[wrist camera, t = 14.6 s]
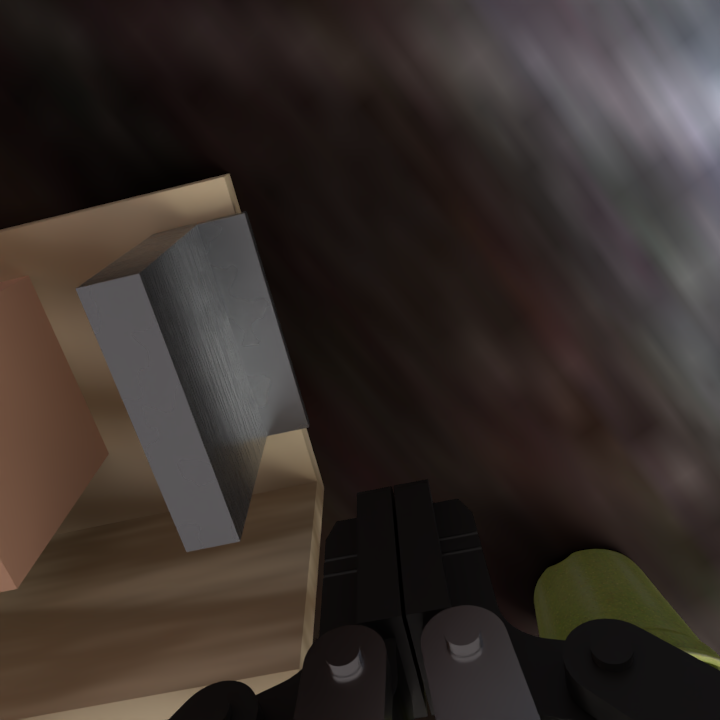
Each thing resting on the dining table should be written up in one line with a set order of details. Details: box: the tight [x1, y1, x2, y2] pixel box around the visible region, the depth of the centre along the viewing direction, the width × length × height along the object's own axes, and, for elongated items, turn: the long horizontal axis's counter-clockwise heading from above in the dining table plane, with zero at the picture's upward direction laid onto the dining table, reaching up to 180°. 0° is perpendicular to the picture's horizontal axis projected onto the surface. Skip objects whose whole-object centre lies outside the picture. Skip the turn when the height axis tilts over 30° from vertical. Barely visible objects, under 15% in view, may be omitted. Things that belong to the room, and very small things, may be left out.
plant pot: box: [534, 549, 720, 670], centre depth 32 cm, size 9×9×9 cm
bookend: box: [76, 211, 309, 552], centre depth 24 cm, size 10×4×8 cm, turn 13°
